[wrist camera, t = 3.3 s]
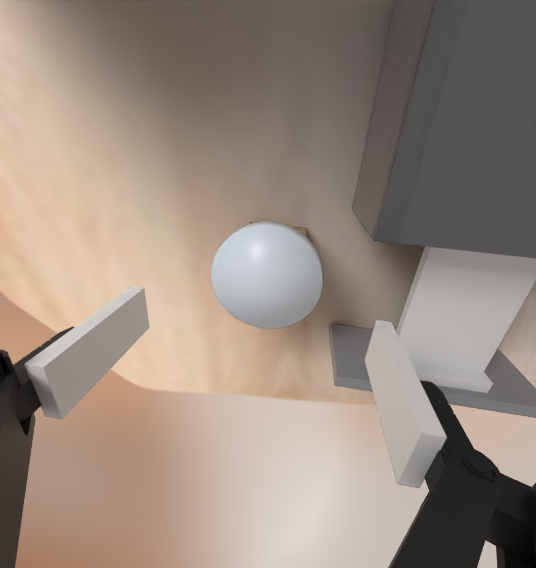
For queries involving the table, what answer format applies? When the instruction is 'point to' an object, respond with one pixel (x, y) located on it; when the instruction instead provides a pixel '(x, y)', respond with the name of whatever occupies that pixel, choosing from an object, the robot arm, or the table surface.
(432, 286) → the grey drawer
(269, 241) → the disc
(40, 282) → the table surface
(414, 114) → the dark grey drawer housing
